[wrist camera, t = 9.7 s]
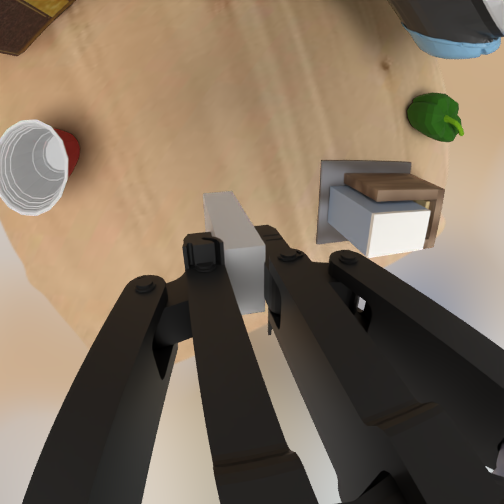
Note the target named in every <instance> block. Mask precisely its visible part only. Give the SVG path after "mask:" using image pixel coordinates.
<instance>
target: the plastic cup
mask: <svg viewBox="0 0 504 504" xmlns="http://www.w3.org/2000/svg"><path fill="white" fill-rule="evenodd" d="M79 153H80V147H79V144H78V141H77V140H76V138H75V137H74V136H73V135H72V134H70V133H68V132H66V131H62V130H59V129H54V128H52V127H51V126H49V125H47V124H45V123H43V122H41V121H38V120H22V121H19V122H18V123H16V124H14V125H13V126H11V127H10V128H8V129H7V130H6V131H5V133H4V134H3V136H2V137H1V138H0V197H1V198H2V200H3V201H4V202H5V203H6V205H7V206H8V207H9V208H11V209H12V210H14V211H16V212H18V213H19V214H21V215H32V216H37V215H39V214H41V213H44V212H46V211H48V210H50V209H51V208H52V207H53V206H54V205H55V203H56V202H57V201H58V200H59V199H60V198H61V196H62V194H63V191H64V188H65V185H66V183H67V180H68V178H69V176H70V175H71V173H72V171H73V170H74V167H75V165H76V164H77V161H78V159H79Z"/></svg>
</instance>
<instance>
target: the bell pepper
mask: <svg viewBox="0 0 504 504" xmlns="http://www.w3.org/2000/svg"><path fill="white" fill-rule="evenodd" d="M458 110H459V107H458V103H457V102H455V101H454V100H453V99H451V98H450V97H449V96H448V95H446V94H441V93H428V94H424V95H420V96H418V97H416V98H415V99H414V100H413V104H411V105H410V107H409V108H408V110H407V115H408V119H409V121H410V124H411V125H412V127H414V128H415V129H417V130H418V131H420V132H421V133H423V134H424V135H426V136H428V137H430V138H433V139H435V140H438V141H441V142H451V141H453V140H454V138H455V137H456V135H457V134H458V133H459V135H460V136H463V135H464V132H463V128H462V126H461V119H460V118H459V116H458V115H457V114H458Z"/></svg>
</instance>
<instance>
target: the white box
mask: <svg viewBox="0 0 504 504" xmlns="http://www.w3.org/2000/svg"><path fill="white" fill-rule="evenodd" d="M430 212H431V211H430V210H428V209H427V208H425V207H423V206H421V205H419V204H418V203H416V202H414V201H412V200H405V201H382V202H376V201H375V200H373V199H371V198H369V197H368V196H366V195H364V194H363V193H361V192H359V191H357V190H356V189H354V188H352V187H350V186H330V198H329V211H328V223H329V224H330V225H331V226H333V227H334V228H335V229H336V230H337V231H338V232H339V233H341V234H342V235H343V236H344V237H345V238H346V239H347V240H348V241H350V242H351V243H352V244H353V245H354V246H355V247H356V248H357V249H359V250H360V251H361V252H362V253H363V254H364V255H365V256H366V257H367V258H371V257H378V256H384V255H391V254H397V253H404V252H410V251H417V250H422V249H423V246H424V241H425V237H426V232H427V227H428V222H429V217H430Z"/></svg>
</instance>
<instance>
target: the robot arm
mask: <svg viewBox="0 0 504 504" xmlns="http://www.w3.org/2000/svg"><path fill="white" fill-rule="evenodd" d="M387 1H388V2H389V4H390V5H391V6H392V8H393V9H394V11H395V12H396V14H397V15H398V17H399V19H400V20H401V24H402V26H403V27H404V28H405V29H406V30H407V31H408V32H409V33H410V35H411V36H412V38H413V40H414V41H415V43H416V44H417V46H418V47H419V48H420V49H421V50H422V51H424V52H426V53H428V54H429V55H431V56H435V57H439V58H444V59H469V58H476V57H479V56H480V54H485V55H487V54H490V53H492V52H494V51H496V50H497V49H498V48H499V46H500V44H501V37H504V0H387ZM203 202H204V216H205V229H206V232H203V233H194V234H188V235H187V236H186V237H185V238H184V240H183V241H184V244H183V247H182V248H183V256H184V264H185V273H184V274H183V275H182V276H181V277H180V278H178V279H176V280H174V281H172V282H169V283H166V282H165V281H164V279H163V278H161V277H159V276H154V275H143V276H141V277H137V278H135V279H133V280H132V281H130V282H129V283H128V284H127V285H126V287H125V288H124V290H123V292H122V293H121V295H120V297H119V298H118V300H117V302H116V303H115V305H114V307H113V309H112V310H111V312H110V314H109V316H108V317H107V319H106V321H105V323H104V325H103V326H102V328H101V330H100V332H99V334H98V335H97V337H96V339H95V341H94V343H93V345H92V346H91V348H90V350H89V352H88V354H87V356H86V358H85V360H84V362H83V364H82V366H81V368H80V369H79V372H78V373H77V375H76V377H75V379H74V381H73V383H72V385H71V387H70V390H69V392H68V394H67V396H66V398H65V400H64V402H63V404H62V407H61V409H60V411H59V413H58V415H57V417H56V419H55V422H54V424H53V426H52V429H51V431H50V433H49V435H48V437H47V440H46V442H45V445H44V447H43V449H42V452H41V454H40V457H39V460H38V462H37V464H36V467H35V469H34V472H33V475H32V477H31V480H30V483H29V485H28V488H27V491H26V494H25V496H24V499H23V502H22V504H141V503H142V498H143V493H144V488H145V484H146V479H147V474H148V470H149V464H150V460H151V456H152V451H153V447H154V442H155V438H156V434H157V430H158V425H159V421H160V417H161V413H162V409H163V405H164V401H165V396H166V392H167V389H168V385H169V381H170V377H171V373H172V369H173V365H174V361H175V358H176V354H177V350H178V343H179V342H181V341H184V340H187V339H189V338H192V337H193V344H194V351H195V358H196V366H197V372H198V380H199V386H200V393H201V398H202V405H203V411H204V417H205V423H206V428H207V434H208V439H209V445H210V450H211V455H212V461H213V470H214V476H215V481H216V486H217V490H218V495H219V500H220V504H318V501H317V499H316V496H315V494H314V491H313V489H312V486H311V484H310V481H309V479H308V476H307V474H306V472H305V469H304V466H303V464H302V462H301V460H300V458H299V457H298V455H297V454H296V452H293V451H291V450H290V449H289V447H288V445H287V443H286V441H285V438H284V435H283V433H282V430H281V427H280V424H279V422H278V419H277V416H276V413H275V411H274V408H273V405H272V402H271V399H270V397H269V394H268V391H267V388H266V385H265V382H264V380H263V377H262V374H261V371H260V368H259V365H258V362H257V360H256V357H255V354H254V351H253V348H252V345H251V342H250V339H249V336H248V333H247V330H246V327H245V324H244V321H243V318H242V315H244V314H251V313H258V312H264V311H265V300H266V302H267V305H268V335H271V330H272V329H273V330H274V333H275V335H276V337H277V340H278V342H279V344H280V347H281V349H282V351H283V353H284V356H285V358H286V360H287V363H288V365H289V367H290V370H291V372H292V374H293V377H294V378H295V381H296V383H297V386H298V388H299V390H300V393H301V395H302V397H303V399H304V402H305V404H306V406H307V408H308V411H309V413H310V415H311V418H312V420H313V422H314V424H315V427H316V429H317V431H318V433H319V436H320V438H321V440H322V442H323V445H324V447H325V449H326V451H327V453H328V456H329V458H330V460H331V463H332V465H333V467H334V469H335V471H336V474H337V478H338V491H339V496H340V498H341V501H342V503H338V504H504V350H503V349H502V348H501V347H499V346H498V345H496V344H495V343H494V342H492V341H491V340H490V339H488V338H487V337H485V336H484V335H483V334H481V333H480V332H478V331H477V330H475V329H474V328H473V327H471V326H470V325H468V324H467V323H466V322H464V321H463V320H461V319H460V318H458V317H457V316H455V315H454V314H452V313H451V312H449V311H448V310H446V309H445V308H444V307H442V306H441V305H439V304H438V303H436V302H435V301H433V300H432V299H430V298H429V297H427V296H426V295H424V294H423V293H421V292H419V291H418V290H416V289H415V288H413V287H412V286H410V285H409V284H407V283H405V282H404V281H402V280H401V279H399V278H398V277H396V276H395V275H393V274H391V273H390V272H388V271H387V270H385V269H384V268H382V267H380V266H379V265H377V264H376V263H374V262H372V261H371V260H369V259H368V258H366V257H364V256H363V255H361V254H359V253H356V252H353V251H350V250H341V251H336V252H333V253H332V254H331V255H330V257H329V263H321V262H312V261H311V260H310V259H309V258H308V256H307V255H306V254H305V253H304V252H302V251H300V250H297V249H292V248H290V247H289V246H288V244H287V243H286V242H285V240H284V239H283V238H282V236H281V235H280V234H279V232H278V231H277V230H276V229H275V228H273V227H271V226H269V225H261V226H253V224H252V222H251V221H250V219H249V218H248V216H247V214H246V213H245V211H244V210H243V208H242V206H241V205H240V203H239V201H238V200H237V198H236V197H235V195H234V193H233V192H232V191H226V192H215V193H204V194H203ZM359 297H361V298H362V299H364V300H365V301H366V303H365V308H364V310H361V309H359V308H358V303H359ZM485 466H487V467H489V468H491V469H493V470H494V471H493V472H492V473H490V472H489V471H488V470H487V468H486V467H485Z"/></svg>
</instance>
